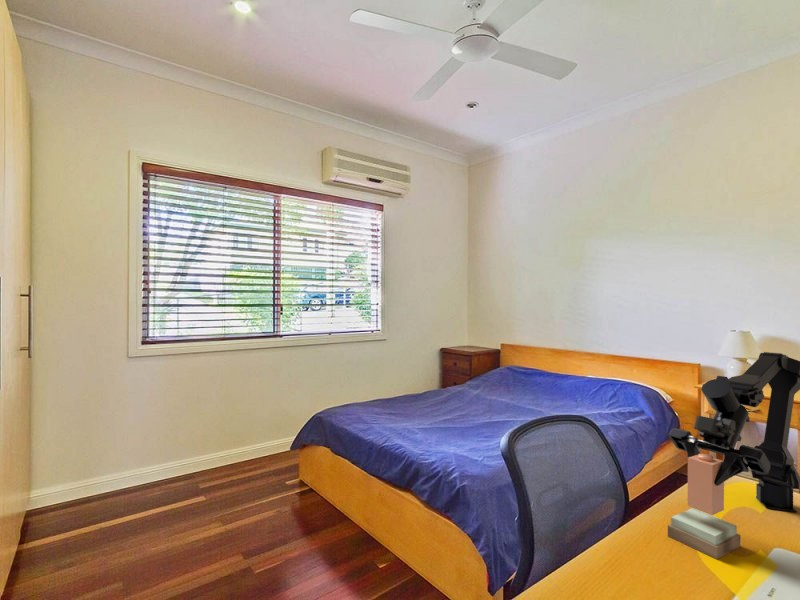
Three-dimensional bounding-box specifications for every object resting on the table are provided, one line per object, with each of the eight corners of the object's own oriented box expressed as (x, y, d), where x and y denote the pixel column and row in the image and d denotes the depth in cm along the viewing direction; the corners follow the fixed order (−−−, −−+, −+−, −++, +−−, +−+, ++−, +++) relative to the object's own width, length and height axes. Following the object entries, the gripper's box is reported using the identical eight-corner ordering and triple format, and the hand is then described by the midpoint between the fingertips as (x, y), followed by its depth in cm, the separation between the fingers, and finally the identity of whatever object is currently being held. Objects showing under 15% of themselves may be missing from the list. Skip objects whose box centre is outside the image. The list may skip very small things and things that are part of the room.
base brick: (691, 525, 102) (691, 506, 102) (740, 546, 93) (740, 525, 93) (667, 536, 97) (667, 516, 97) (716, 559, 88) (716, 537, 88)
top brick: (699, 500, 99) (699, 450, 99) (723, 510, 95) (723, 457, 95) (687, 505, 97) (687, 454, 97) (712, 515, 92) (712, 461, 92)
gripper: (672, 395, 106) (646, 446, 101) (764, 412, 90) (738, 474, 84) (689, 422, 110) (665, 473, 104) (780, 443, 93) (757, 505, 88)
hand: (702, 479), depth 95 cm, fingers closed on top brick, 5 cm apart
